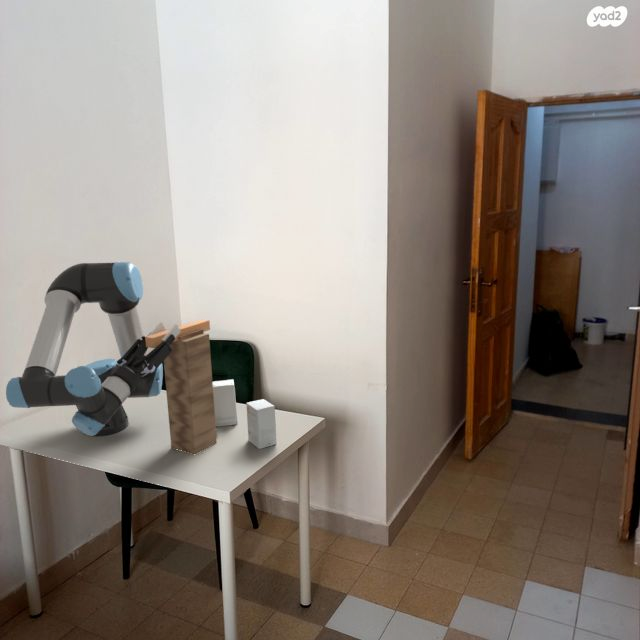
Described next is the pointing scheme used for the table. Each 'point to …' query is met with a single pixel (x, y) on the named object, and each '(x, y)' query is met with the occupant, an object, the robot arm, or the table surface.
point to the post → (190, 393)
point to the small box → (261, 423)
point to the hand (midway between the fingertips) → (170, 327)
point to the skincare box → (224, 403)
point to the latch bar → (157, 338)
